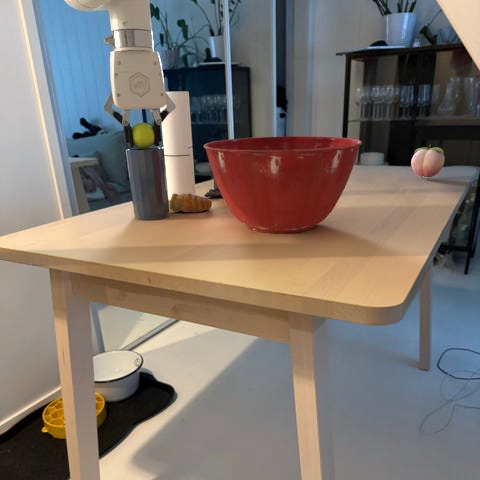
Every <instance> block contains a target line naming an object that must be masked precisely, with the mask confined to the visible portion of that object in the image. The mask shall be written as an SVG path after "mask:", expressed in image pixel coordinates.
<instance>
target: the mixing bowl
mask: <svg viewBox="0 0 480 480" xmlns="http://www.w3.org/2000/svg"><path fill="white" fill-rule="evenodd" d="M362 144H363V141H362V140H360V139H355V138H349V137H339V136H338V137H336V136H313V135H312V136H311V135H309V136H308V135H307V136H305V135H304V136H302V135H301V136H299V135H298V136H297V135H295V136H292V135H291V136H260V137H259V136H258V137H244V138H241V137H240V138H231V139H230V138H229V139H222V140H216V141H211V142H207V143H205V144H204V145H203V148H204V149H205V151H206V155H207V158H208V163H209V165H210V168H211V171H212V174H213V179H214V178H215V180H216V183H217V185H218V188H219V190H220V192H221V194H222V196H223V197H222V196H221V197H222V198H223V200H224V202H225V204H226V206H227V208H228V209H229V211H230V212H231V214H232V216H233V217H234V218H235V219H236V220H237V221H239V222H240V223H241V224H243V225H245V226H246V227H247V228H248V229H250V230H253V231H254V232H255V231H256V232H259V233H260V232H261V233H269V234H292V233H293V234H294V233H301V232H305V231H308V230H311V229H313V228H315V227H316V226H317V225H319V224H320V223H322V222H324V220H325V219H327V218H328V217H329V216H330V214H331V213H332V211H333V210H334V209H335V208H336V205H337V204H338V202H339V200H340V198H341V197H342V194H343V192H344V190H345V188H346V186H347V184H348V182H349V179H350V176H351V174H352V171H353V168H354V166H355V163H356V160H357V156H358V153H359V149H360V146H361V145H362Z"/></svg>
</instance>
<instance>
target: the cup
mask: <svg viewBox="0 0 480 480" xmlns="http://www.w3.org/2000/svg"><path fill="white" fill-rule="evenodd" d="M125 155H126V162H127V170H128V171H127V172H128V178H129V186H130V194H131V195H130V196H131V202H132V210H133V211H132V212H133V216H134V219H135V220H139V221H157V220H163V219H167V218H169V217H170V211H171V210H170V202H169V201H170V200H169V199H168V188H167V177H166V166H165V155H164V147H160V146H151V147H149V148H147V149H141V148H138V147H133V148H127V149H125Z"/></svg>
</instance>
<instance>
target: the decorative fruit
mask: <svg viewBox="0 0 480 480" xmlns="http://www.w3.org/2000/svg"><path fill="white" fill-rule="evenodd" d="M444 154H445V152H444V150H443V149H442V148H441V147H432V146H431V143H429V147H419V148H416V149H415V150H414V154H413V156H412V158H411V161H410V163H411V168H412V170H413V172H414V173H415V174H416V175H417V176H419V177H420V176H424V177H430V178H432V177H434V176H436V175H438V174H439V173H440V172H441V170H442V169H443V168H444V165H445V155H444Z"/></svg>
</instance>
